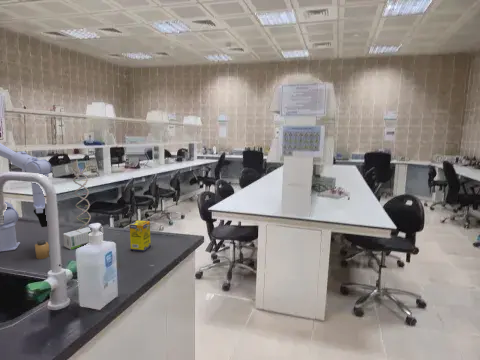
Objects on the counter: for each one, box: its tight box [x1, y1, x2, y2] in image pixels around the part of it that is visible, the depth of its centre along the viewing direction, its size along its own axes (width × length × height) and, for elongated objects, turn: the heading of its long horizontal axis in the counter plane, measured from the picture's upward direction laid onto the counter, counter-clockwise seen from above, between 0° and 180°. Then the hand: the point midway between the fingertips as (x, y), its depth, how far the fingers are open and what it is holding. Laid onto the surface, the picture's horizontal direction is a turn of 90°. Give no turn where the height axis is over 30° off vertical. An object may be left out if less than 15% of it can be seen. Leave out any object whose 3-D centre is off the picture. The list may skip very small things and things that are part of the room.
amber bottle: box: [34, 239, 50, 260], centre depth 118 cm, size 4×4×6 cm
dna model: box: [72, 167, 92, 230], centre depth 144 cm, size 7×6×30 cm
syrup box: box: [62, 226, 104, 250], centre depth 131 cm, size 6×6×14 cm
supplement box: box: [129, 219, 152, 253], centre depth 126 cm, size 6×6×11 cm
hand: (45, 226), depth 121 cm, fingers closed
